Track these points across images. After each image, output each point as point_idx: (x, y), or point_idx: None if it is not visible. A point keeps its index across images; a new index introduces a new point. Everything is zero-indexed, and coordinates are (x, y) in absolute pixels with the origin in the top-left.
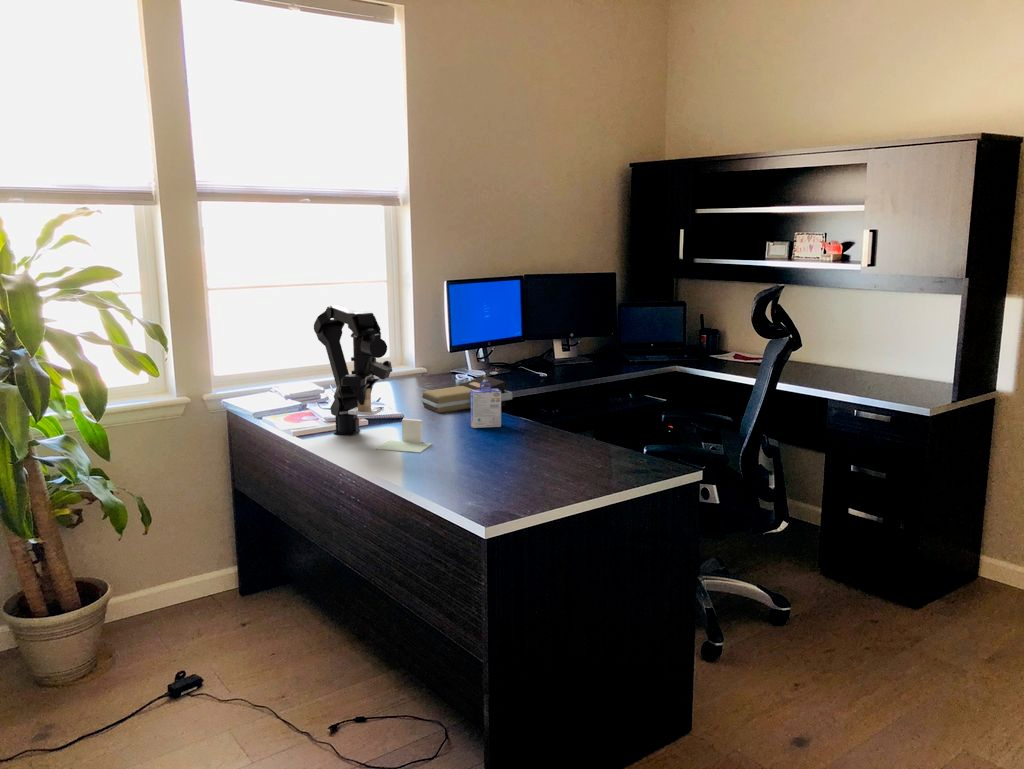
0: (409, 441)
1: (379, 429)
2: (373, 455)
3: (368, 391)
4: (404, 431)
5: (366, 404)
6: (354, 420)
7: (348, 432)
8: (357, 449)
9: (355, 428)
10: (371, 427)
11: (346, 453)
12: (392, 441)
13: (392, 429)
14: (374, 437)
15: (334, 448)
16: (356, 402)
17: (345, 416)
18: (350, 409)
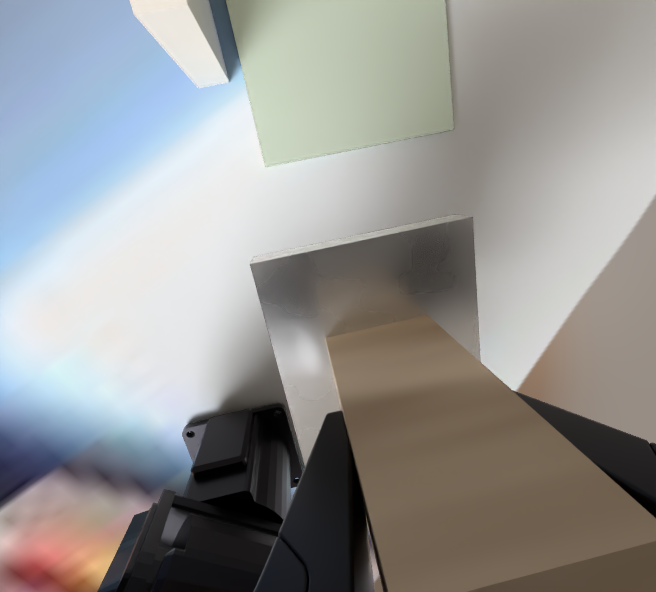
0: (213, 21)
1: (88, 370)
2: (561, 68)
3: (500, 509)
4: (209, 32)
5: (461, 350)
6: (245, 460)
7: (274, 431)
8: (484, 223)
9: (248, 422)
10: (84, 427)
11: (563, 226)
12: (281, 128)
13: (33, 311)
14: (244, 291)
15: (503, 328)
16: (232, 569)
17: (281, 514)
18: (271, 535)
